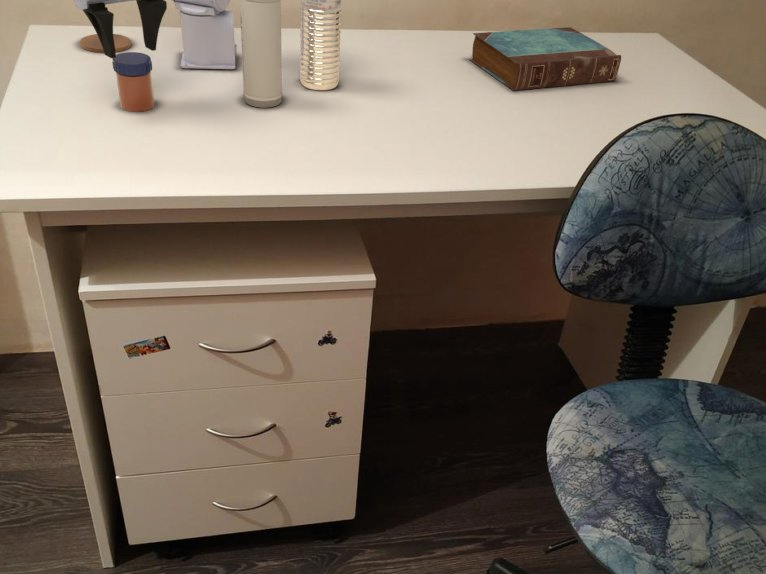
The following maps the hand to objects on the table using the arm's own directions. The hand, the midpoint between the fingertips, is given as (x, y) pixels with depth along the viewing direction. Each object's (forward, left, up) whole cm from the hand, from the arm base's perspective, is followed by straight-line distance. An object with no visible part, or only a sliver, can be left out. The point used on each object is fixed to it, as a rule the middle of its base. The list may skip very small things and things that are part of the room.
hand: (130, 52), depth 123 cm
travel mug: (-20, -3, -8) cm, 22 cm away
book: (-74, -21, -8) cm, 77 cm away
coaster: (+8, -29, -8) cm, 31 cm away
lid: (0, 0, -1) cm, 1 cm away
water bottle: (-30, -11, -8) cm, 33 cm away
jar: (0, 0, -8) cm, 8 cm away
